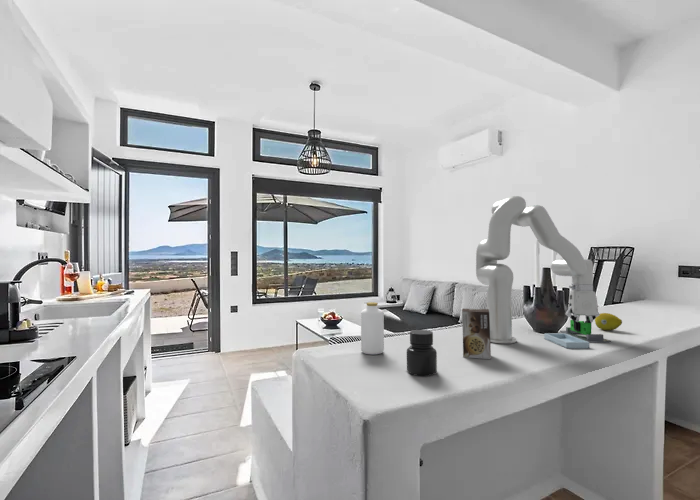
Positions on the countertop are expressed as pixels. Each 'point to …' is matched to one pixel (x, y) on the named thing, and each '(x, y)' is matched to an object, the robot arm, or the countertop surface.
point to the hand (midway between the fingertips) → (582, 330)
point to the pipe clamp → (582, 327)
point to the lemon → (607, 321)
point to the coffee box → (476, 333)
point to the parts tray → (566, 340)
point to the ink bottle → (421, 354)
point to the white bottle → (372, 329)
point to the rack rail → (587, 336)
